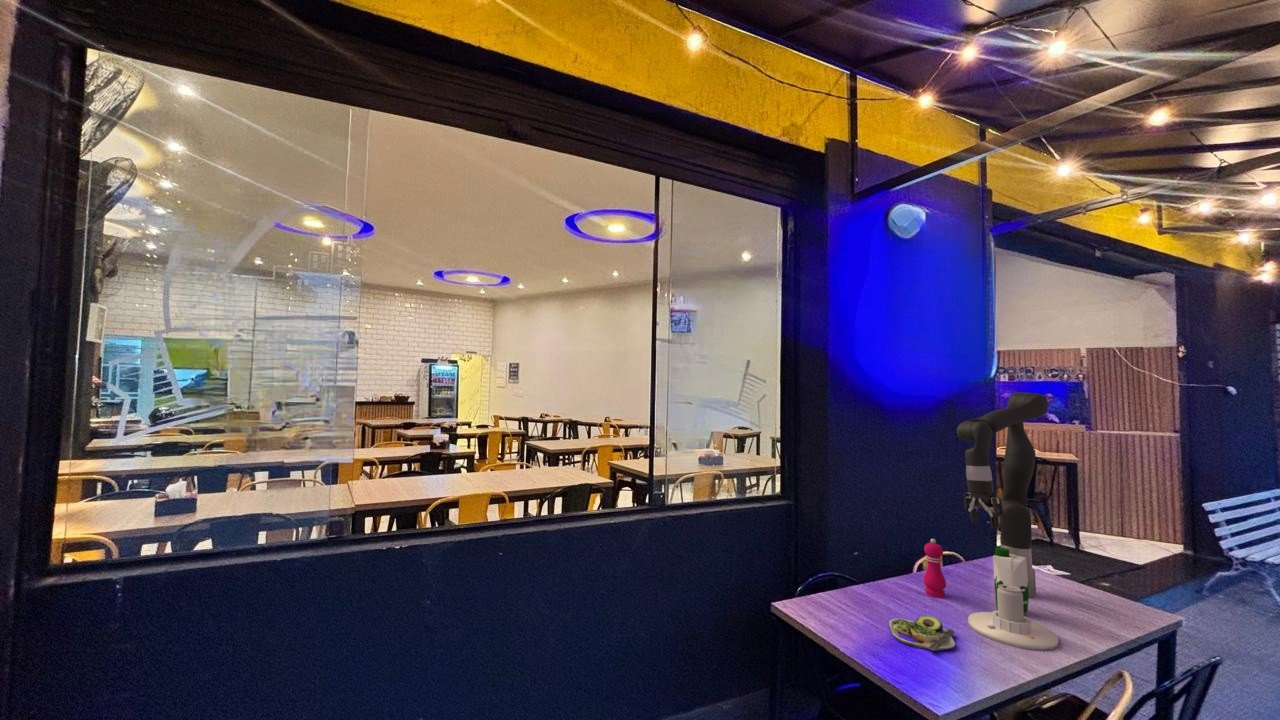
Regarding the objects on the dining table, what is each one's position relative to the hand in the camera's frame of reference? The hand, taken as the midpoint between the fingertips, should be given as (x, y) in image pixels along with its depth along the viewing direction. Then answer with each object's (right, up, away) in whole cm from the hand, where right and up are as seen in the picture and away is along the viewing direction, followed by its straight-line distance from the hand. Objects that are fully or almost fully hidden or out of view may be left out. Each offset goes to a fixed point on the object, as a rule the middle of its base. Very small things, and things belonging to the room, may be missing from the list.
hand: (984, 525), depth 172 cm
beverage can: (-7, -24, -22) cm, 33 cm away
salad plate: (-37, -25, -25) cm, 51 cm away
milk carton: (+6, -28, -5) cm, 29 cm away
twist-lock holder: (-7, -26, -21) cm, 34 cm away
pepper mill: (-13, -28, +8) cm, 32 cm away
